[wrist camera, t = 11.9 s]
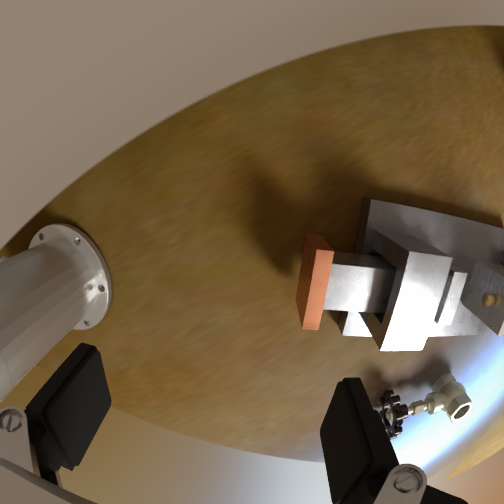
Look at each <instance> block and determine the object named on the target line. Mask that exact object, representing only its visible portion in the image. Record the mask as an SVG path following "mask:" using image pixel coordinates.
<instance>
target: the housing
mask: <svg viewBox="0 0 504 504" xmlns="http://www.w3.org/2000/svg"><path fill="white" fill-rule="evenodd" d="M462 305H464V306H465V307H466V308H467V309H468V310H469V311H471V312H472V313H473V314H474V315H475V316H477V317H478V318H479V319H480V320H481V321H482V322H483V323H485V324H486V325H487V326H488V327H489V328H490V329H491V330H492V331H494V332H495V333H496V334H497V335H504V266H503V265H500V264H493V263H487V262H480V261H475V264H474V267H473V271H472V275H471V278H470V282H469V285H468V288H467V291H466V295H465V298H464V301H463V304H462Z"/></svg>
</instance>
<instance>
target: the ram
mask: <svg viewBox="0 0 504 504" xmlns="http://www.w3.org/2000/svg"><path fill="white" fill-rule="evenodd" d="M396 271H397V268H396V267H395V266H394V265H393V264H391V263H390V262H389V261H388V260H387V259H385V258H384V257H379V256H371V255H362V254H353V253H345V252H336V251H333V249H332V248H331V247H330V246H329V244H328V243H327V242H326V241H325V239H324V238H323V237H322V236H321V234H316V233H307V232H306V236H305V243H304V250H303V257H302V263H301V269H300V276H299V282H298V288H297V294H296V303H297V307H298V312H299V317H300V321H301V326H302V329H309V330H318V328H319V324H320V319H321V315H322V311H323V309H326V310H340V311H356V312H374V313H385V312H386V309H387V305H388V302H389V298H390V295H391V291H392V287H393V283H394V279H395V275H396ZM467 274H468V273H466V272H465V271H463V270H462V269H460V268H458V267H457V266H455V265H453V264H452V263H451V266H450V269H449V273H448V277H447V280H446V284H445V287H444V290H443V294H442V297H441V300H440V303H439V306H438V309H437V312H436V315H435V318H434V321H435V322H436V323H437V324H438V325H448V324H451V322H452V320H453V317H454V314H455V311H456V309H457V306H458V303H459V300H460V297H461V294H462V290H463V287H464V284H465V281H466V277H467Z"/></svg>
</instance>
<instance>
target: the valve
mask: <svg viewBox="0 0 504 504" xmlns="http://www.w3.org/2000/svg"><path fill="white" fill-rule="evenodd" d="M432 389H433V392H432V393H429V394H427V396H426V398H425V400H424V401H423V402H422V400H420V401H416V402H413V403H411V404H410V406H409V407H407V405H406V404H403V405H400V404H399V403H400V396H399V395H396V396H391V394H394V392H393V390H387V391H385V392H384V397H381V398H380V404H381V405H382V411H380V412H379V414H380V417H381V419H383V424H384V427H385V429H386V432H387V434H388V437H389V439H390V440H391V439H394V438H396V437H397V435H398V434H401V433H402V427H400V426H401V425H402V423H403V419H406V418H407V417H408V414H410V413H411V414H412V415H417V414H420V413H422V412H424V410H425V412H428V413H429V414H434V413H437V412H439V411H440V409H442V410H443V411H445V412H447V415H448V417H449V418H450V420H451V422H455V421H458V420H460V419H462V418H463V417H464V416H466V415H467V414H468V412H469V411H470V410H471V408H472V402H471V400H470V398H469V397H468V396H467V394H466V390H465V388H464V386H463V385H462V384H461V383H459V382H457V381H456V380H455V378H454V376H453V375H452V374H451V373H447V374H444V375H441V376H439V377H438V379H437V380H436V381H435V382H434V384H433V385H432ZM389 406H390V407H391V409H388V407H389ZM390 421H393V422H392V426H391V425H390Z"/></svg>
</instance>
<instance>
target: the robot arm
mask: <svg viewBox="0 0 504 504" xmlns="http://www.w3.org/2000/svg"><path fill="white" fill-rule="evenodd" d="M111 296H112V287H111V279H110V274H109V271H108V268H107V265H106V262H105V260H104V258H103V256H102V254H101V252H100V251H99V249H98V248H97V247H96V245H95V244H94V242H93V241H92V240H91V239H90V238H89V237H88V236H87V235H86V234H85V233H83V232H82V231H81V230H79V229H78V228H76V227H74V226H72V225H69V224H64V223H54V224H51V225H48V226H46V227H44V228H42V229H40V230H39V231H38V232H37V233H36V234H35V235H34V237H33V239H32V240H31V243H30V245H29V248H28V250H25V251H23V252H21V253H19V254H17V255H15V256H12V257H5V256H3V257H1V258H0V402H1V401H2V400H3V399H4V398H5V397H6V396H7V395H8V394H9V393H10V391H11V390H12V389H13V388H14V387H15V386H16V385H17V384H18V383H19V382H20V381H21V380H22V378H24V376H25V375H26V374H27V373H28V372H29V371H30V370H31V369H32V368H33V367H34V366H35V365H36V364H37V363H38V362H39V361H40V360H41V359H42V358H43V357H44V356H45V355H46V354H47V353H48V352H49V351H50V350H51V349H52V348H53V347H54V346H55V345H56V344H57V343H58V342H59V341H60V340H61V339H62V338H63V337H64V336H65V335H66V334H67V333H68V332H69V331H70V330H71V329H77V330H86V329H89V328H92V327H94V326H95V325H97V324H98V323H99V322H100V321H101V320H102V319H103V318H104V316H105V315H106V313H107V312H108V309H109V306H110V304H111ZM110 406H111V396H110V393H109V389H108V385H107V381H106V377H105V373H104V368H103V364H102V359H101V354H100V352H99V351H98V350H97V348H96V347H95V346H93V345H89V344H86V343H81V344H79V345H78V347H77V348H76V349H75V350H74V351H73V352H72V353H71V354H70V355H69V357H68V358H67V359H66V360H65V361H64V362H63V363H62V365H61V366H60V367H59V368H58V369H57V370H56V371H55V373H54V374H53V375H52V376H51V377H50V379H49V380H48V381H47V382H46V383H45V384H44V386H43V387H42V388H41V389H40V390H39V392H38V393H37V394H36V395H35V397H34V398H33V399H32V400H31V401H30V403H29V404H28V405H27V406H26V409H25V411H23V410H21V409H20V408H18V407H15V406H8V407H4V408H3V409H1V410H0V504H97V503H94V502H92V501H89V500H87V499H85V498H82V497H80V496H78V495H76V494H73V493H71V492H69V491H67V490H65V489H63V486H62V483H61V479H60V475H59V469H60V467H61V466H63V467H65V468H67V469H69V470H71V471H72V470H73V469H74V467H75V466H78V465H79V464H80V462H81V460H82V458H83V457H84V454H85V453H86V450H87V449H88V447H89V445H90V443H91V441H92V439H93V437H94V436H95V434H96V432H97V430H98V428H99V426H100V425H101V423H102V421H103V419H104V417H105V416H106V413H107V412H108V410H109V408H110ZM320 437H321V442H322V448H323V453H324V459H325V464H326V470H327V476H328V482H329V487H330V493H331V499H332V503H333V504H468V503H467V502H466V501H465V500H463V499H461V498H458V497H455V496H453V495H450V494H448V493H445V492H443V491H440V490H438V489H436V488H433V487H431V486H429V485H426V484H427V478H426V475H425V473H424V471H423V470H421V469H420V468H419V467H417V466H415V465H412V464H401V465H399V462H398V460H397V457H396V454H395V452H394V449H393V447H392V444H391V442H390V439H389V437H388V434H387V432H386V429H385V427H384V424H383V422H382V419H381V417H380V414H379V413H378V411H377V410H373V408H372V405H371V403H370V400H369V398H368V396H367V393H366V391H365V388H364V386H363V383H362V381H361V379H360V378H359V377H358V378H344V379H343V380H342V381H340V382H338V384H337V386H336V389H335V392H334V395H333V397H332V400H331V403H330V405H329V408H328V410H327V413H326V415H325V418H324V420H323V423H322V425H321V428H320Z"/></svg>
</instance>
